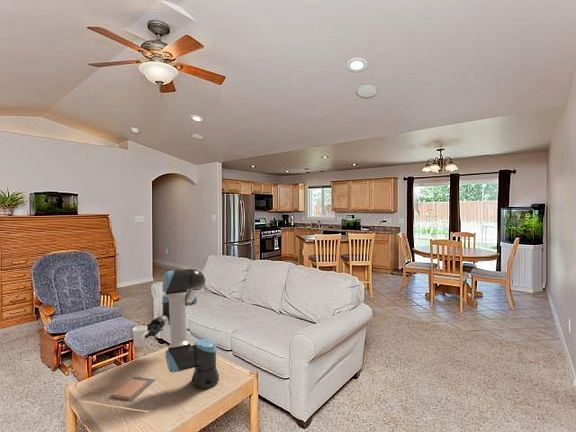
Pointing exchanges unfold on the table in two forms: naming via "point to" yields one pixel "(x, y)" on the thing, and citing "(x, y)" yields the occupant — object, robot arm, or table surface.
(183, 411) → the table surface
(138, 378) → the mat
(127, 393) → the tile
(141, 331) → the white cup
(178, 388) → the table surface
